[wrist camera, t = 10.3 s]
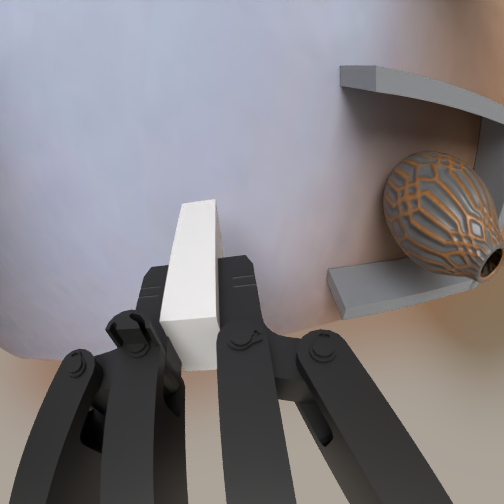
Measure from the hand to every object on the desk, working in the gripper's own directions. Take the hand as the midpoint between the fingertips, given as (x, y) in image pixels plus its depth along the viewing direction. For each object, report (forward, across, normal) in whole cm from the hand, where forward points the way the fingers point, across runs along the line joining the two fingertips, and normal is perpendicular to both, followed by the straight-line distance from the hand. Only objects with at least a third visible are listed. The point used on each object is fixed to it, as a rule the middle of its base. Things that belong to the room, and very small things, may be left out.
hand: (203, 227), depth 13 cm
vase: (+4, +14, 0) cm, 14 cm away
